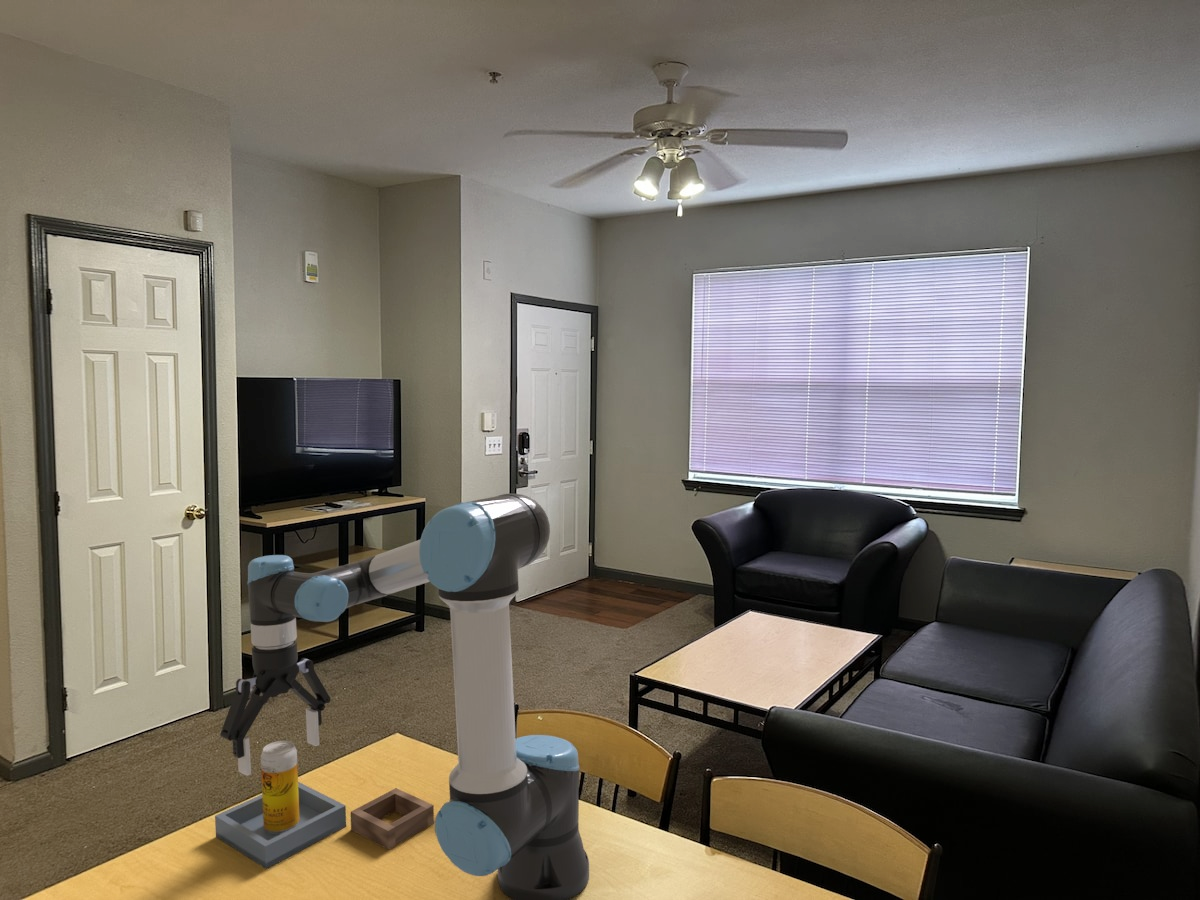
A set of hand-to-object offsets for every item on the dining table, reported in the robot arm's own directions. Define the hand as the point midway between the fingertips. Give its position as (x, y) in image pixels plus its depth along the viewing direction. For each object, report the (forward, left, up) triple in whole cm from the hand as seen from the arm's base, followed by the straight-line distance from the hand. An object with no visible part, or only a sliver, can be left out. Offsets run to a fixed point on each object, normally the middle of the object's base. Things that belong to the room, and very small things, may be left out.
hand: (280, 758), depth 147 cm
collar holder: (-15, -13, -14) cm, 24 cm away
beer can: (0, 0, -13) cm, 13 cm away
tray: (0, 0, -14) cm, 14 cm away
